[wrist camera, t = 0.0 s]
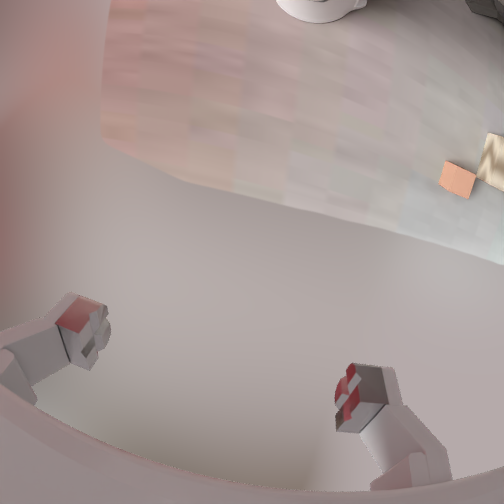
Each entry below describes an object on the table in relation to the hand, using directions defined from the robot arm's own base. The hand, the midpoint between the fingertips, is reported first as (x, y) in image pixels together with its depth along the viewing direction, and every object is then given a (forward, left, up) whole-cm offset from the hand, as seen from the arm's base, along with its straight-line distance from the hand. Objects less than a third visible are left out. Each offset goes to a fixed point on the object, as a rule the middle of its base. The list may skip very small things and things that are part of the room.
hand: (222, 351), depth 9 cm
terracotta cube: (-4, +34, -48) cm, 59 cm away
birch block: (-11, +46, -48) cm, 68 cm away
